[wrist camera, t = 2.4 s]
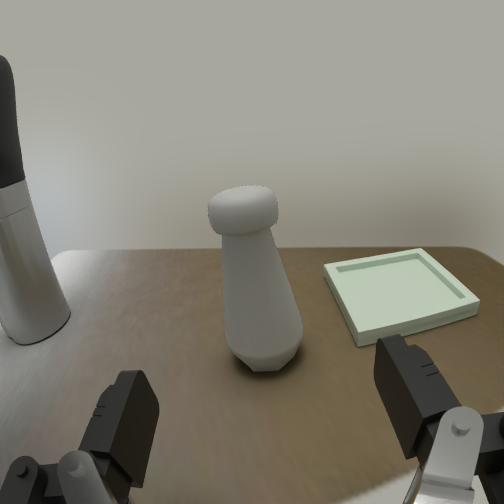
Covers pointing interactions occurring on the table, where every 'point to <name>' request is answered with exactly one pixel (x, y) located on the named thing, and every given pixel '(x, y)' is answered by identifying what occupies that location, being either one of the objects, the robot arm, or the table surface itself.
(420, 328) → the tray
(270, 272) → the salt shaker
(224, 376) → the table surface
